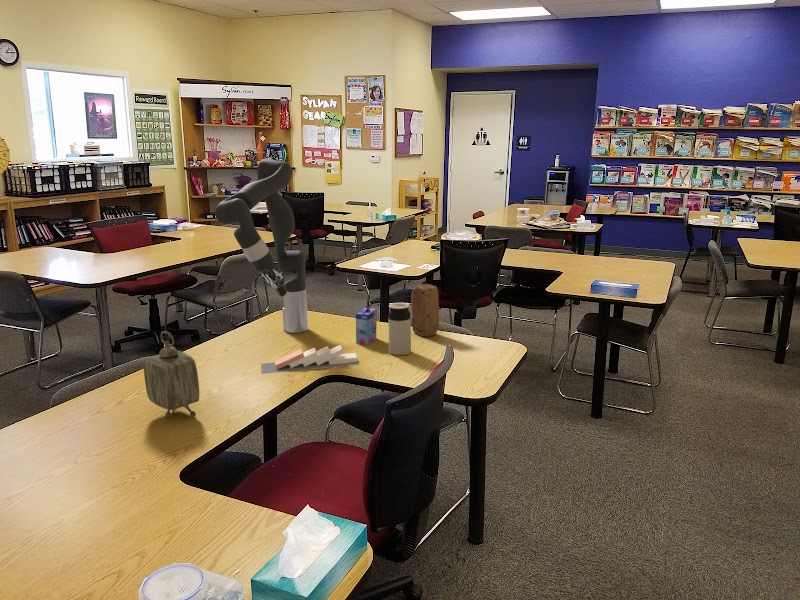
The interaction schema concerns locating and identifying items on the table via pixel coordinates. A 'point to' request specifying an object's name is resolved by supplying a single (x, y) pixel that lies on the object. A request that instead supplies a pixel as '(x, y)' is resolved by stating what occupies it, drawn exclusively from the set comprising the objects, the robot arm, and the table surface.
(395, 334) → the travel mug
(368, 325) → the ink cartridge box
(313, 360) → the domino
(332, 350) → the domino
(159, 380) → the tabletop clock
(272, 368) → the mat
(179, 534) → the table surface
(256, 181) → the robot arm
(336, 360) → the domino
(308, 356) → the domino
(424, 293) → the block
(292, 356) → the domino
